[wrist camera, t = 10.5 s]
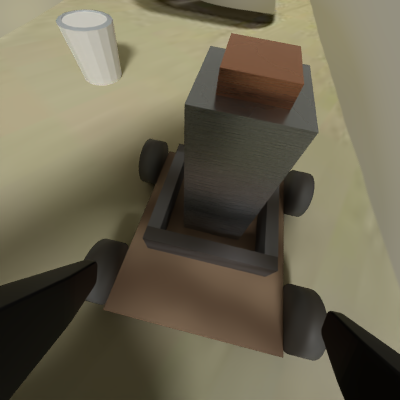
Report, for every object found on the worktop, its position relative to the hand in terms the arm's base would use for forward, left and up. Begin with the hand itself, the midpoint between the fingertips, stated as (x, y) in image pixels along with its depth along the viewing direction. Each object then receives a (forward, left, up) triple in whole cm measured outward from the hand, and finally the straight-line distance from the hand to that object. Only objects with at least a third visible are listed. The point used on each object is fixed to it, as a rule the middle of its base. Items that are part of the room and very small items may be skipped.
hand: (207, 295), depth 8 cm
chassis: (+6, +1, -10) cm, 12 cm away
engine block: (+8, +1, -8) cm, 12 cm away
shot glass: (+24, +26, -10) cm, 37 cm away
